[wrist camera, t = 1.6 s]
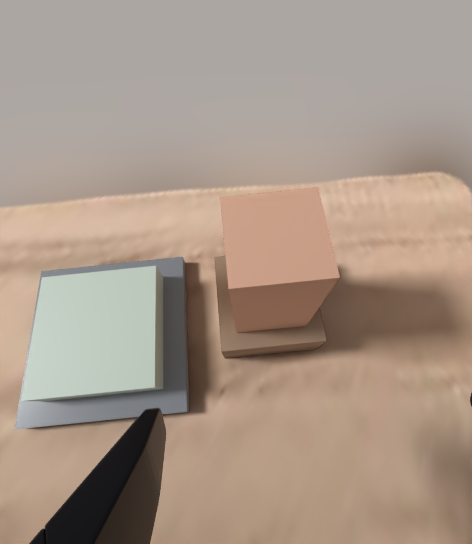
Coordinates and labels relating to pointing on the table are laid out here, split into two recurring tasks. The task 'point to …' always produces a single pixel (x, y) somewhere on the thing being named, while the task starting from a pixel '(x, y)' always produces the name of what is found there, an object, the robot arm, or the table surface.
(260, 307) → the terracotta brick
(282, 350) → the walnut stand
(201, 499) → the table surface
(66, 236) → the table surface
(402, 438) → the table surface
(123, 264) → the baseplate
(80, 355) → the foundation slab
